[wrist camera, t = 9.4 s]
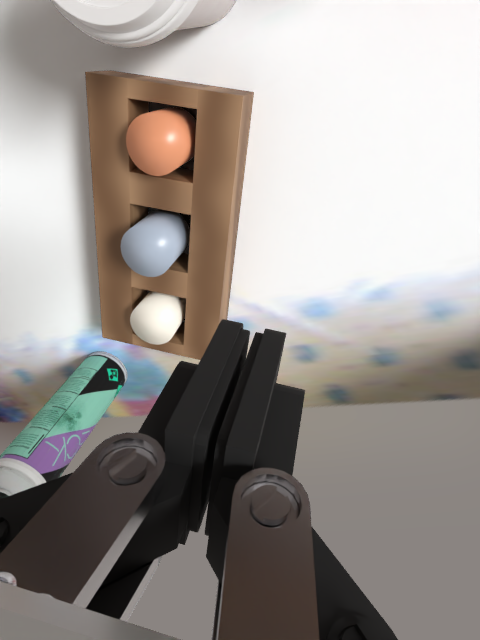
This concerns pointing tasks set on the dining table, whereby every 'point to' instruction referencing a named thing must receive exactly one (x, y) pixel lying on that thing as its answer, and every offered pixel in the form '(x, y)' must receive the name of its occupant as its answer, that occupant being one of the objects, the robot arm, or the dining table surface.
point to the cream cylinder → (158, 317)
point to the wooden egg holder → (167, 202)
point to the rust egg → (161, 140)
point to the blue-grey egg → (155, 242)
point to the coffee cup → (140, 18)
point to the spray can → (61, 425)
